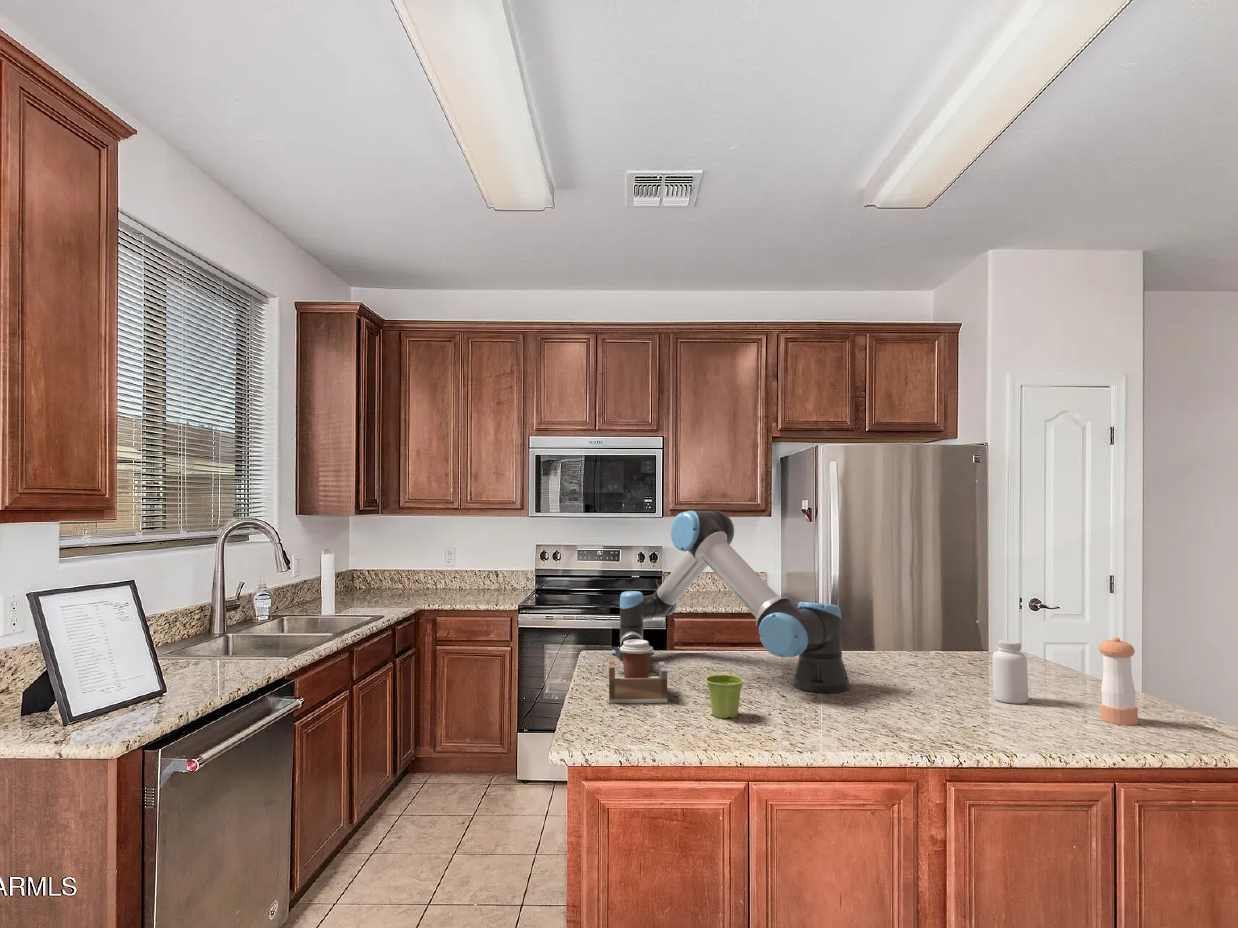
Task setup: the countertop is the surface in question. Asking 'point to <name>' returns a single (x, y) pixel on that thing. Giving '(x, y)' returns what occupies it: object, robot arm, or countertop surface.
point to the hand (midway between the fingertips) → (634, 662)
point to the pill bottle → (1010, 673)
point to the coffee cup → (636, 658)
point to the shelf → (637, 687)
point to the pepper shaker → (1118, 683)
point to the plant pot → (724, 694)
